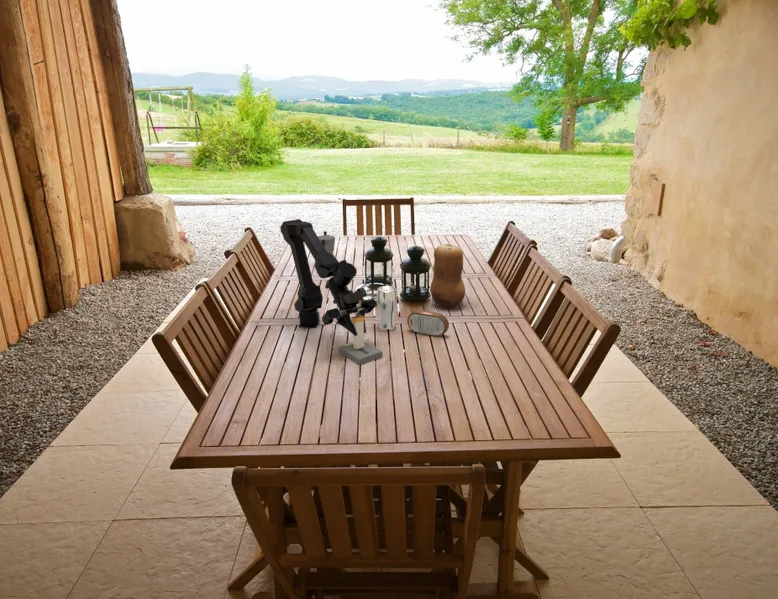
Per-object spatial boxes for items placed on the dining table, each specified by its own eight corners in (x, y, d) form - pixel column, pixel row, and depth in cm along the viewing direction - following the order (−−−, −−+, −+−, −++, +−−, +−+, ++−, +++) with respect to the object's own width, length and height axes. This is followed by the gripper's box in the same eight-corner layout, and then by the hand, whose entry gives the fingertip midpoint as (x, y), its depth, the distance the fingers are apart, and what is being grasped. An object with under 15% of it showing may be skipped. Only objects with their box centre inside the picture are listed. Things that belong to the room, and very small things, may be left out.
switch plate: (338, 352, 192) (338, 346, 191) (361, 345, 197) (361, 339, 197) (359, 364, 183) (359, 358, 182) (382, 357, 188) (382, 350, 188)
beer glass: (394, 332, 207) (394, 292, 202) (375, 330, 209) (374, 291, 204) (398, 324, 214) (397, 286, 209) (379, 323, 215) (378, 285, 210)
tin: (448, 335, 204) (449, 313, 201) (445, 339, 201) (446, 316, 198) (409, 329, 210) (409, 307, 207) (406, 332, 207) (406, 310, 204)
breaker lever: (352, 347, 190) (351, 317, 186) (361, 344, 192) (360, 314, 188) (356, 349, 188) (355, 319, 184) (365, 346, 190) (364, 316, 186)
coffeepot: (319, 263, 290) (317, 228, 283) (338, 263, 289) (336, 228, 283) (314, 272, 275) (312, 235, 269) (334, 272, 275) (332, 235, 269)
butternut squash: (466, 301, 237) (468, 241, 228) (462, 312, 224) (464, 250, 216) (432, 298, 240) (433, 239, 231) (427, 310, 227) (428, 248, 219)
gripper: (324, 286, 180) (345, 330, 176) (373, 275, 191) (394, 315, 186) (313, 303, 189) (333, 345, 184) (360, 291, 199) (380, 331, 195)
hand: (360, 334), depth 187 cm, fingers closed on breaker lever, 3 cm apart
